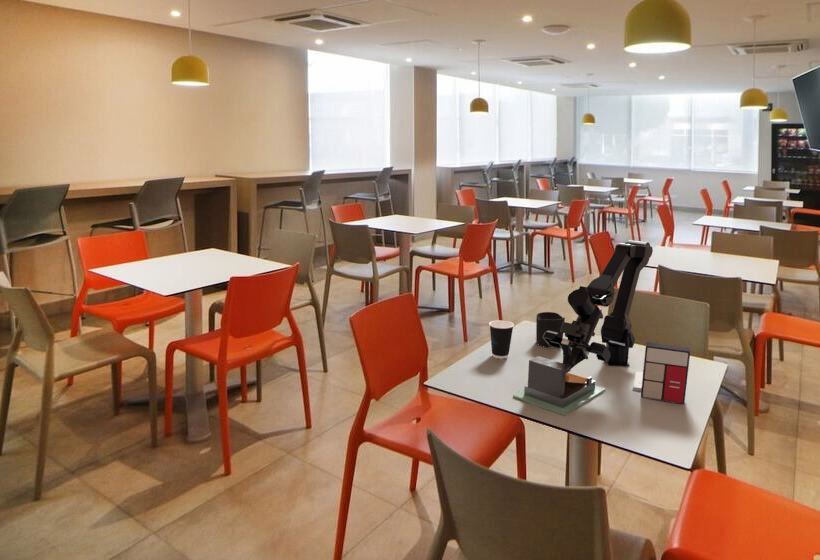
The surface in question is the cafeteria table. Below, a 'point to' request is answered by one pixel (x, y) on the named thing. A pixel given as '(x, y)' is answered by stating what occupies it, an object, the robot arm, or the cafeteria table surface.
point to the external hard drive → (638, 381)
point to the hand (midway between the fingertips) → (564, 372)
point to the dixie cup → (501, 338)
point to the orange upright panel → (574, 378)
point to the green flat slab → (557, 409)
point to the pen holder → (547, 325)
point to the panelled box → (665, 372)
